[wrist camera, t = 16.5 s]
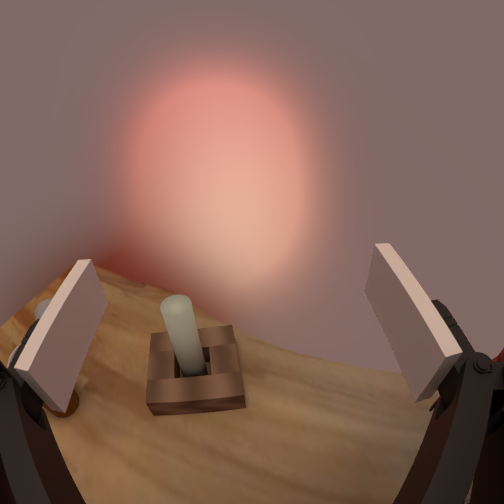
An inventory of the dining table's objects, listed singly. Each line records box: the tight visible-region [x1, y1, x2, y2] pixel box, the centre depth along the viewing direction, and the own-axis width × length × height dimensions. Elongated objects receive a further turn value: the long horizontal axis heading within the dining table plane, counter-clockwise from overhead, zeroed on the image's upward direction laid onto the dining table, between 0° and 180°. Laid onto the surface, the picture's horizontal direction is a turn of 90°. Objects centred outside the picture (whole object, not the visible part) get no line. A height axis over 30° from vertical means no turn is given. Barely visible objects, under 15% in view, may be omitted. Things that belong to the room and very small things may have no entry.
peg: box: [160, 295, 208, 377], centre depth 40 cm, size 4×4×16 cm
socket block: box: [146, 325, 246, 415], centre depth 44 cm, size 14×14×4 cm
